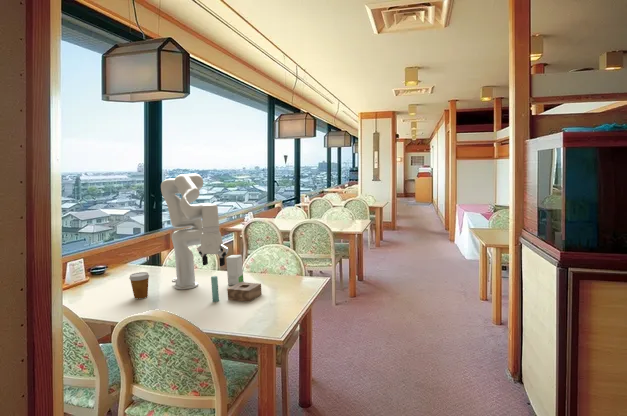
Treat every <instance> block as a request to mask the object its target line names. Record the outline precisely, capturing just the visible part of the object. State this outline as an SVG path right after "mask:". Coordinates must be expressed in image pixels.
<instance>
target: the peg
mask: <svg viewBox="0 0 627 416" xmlns="http://www.w3.org/2000/svg"><path fill="white" fill-rule="evenodd" d="M218 280H219V279H218V276H217V275H212V276H211V277H210V281H211V282H210V283H211V284H210V285H211V295H212V296H211V297H212V303H213V302H214V303H216V302H217V303H218V302H219V301H220V297H219V295H220V294H219V293H220V292H219V281H218Z"/></svg>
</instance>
